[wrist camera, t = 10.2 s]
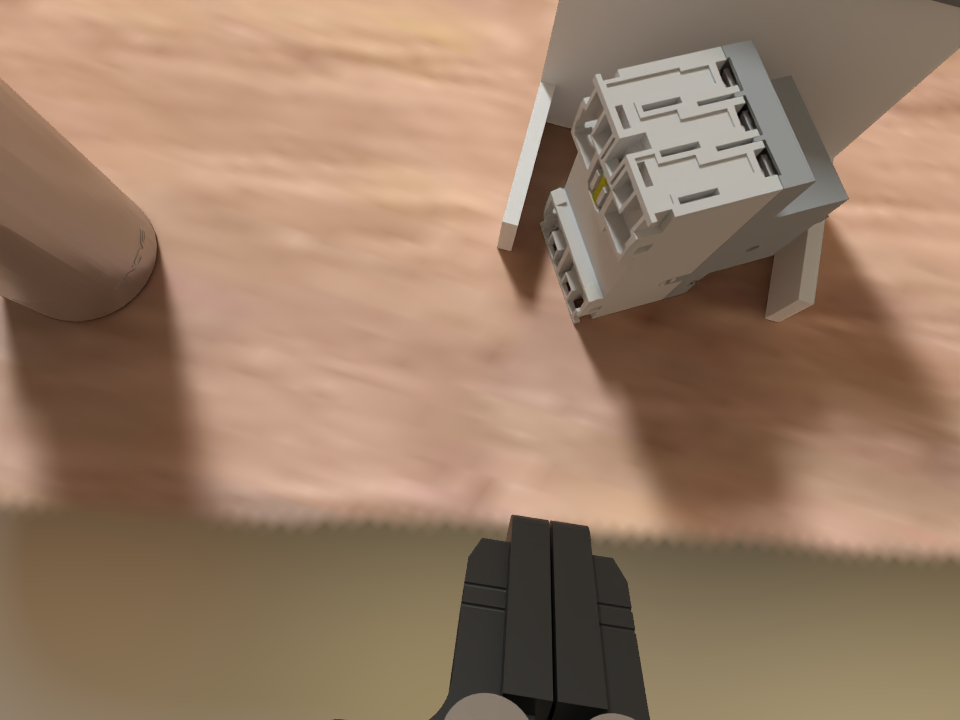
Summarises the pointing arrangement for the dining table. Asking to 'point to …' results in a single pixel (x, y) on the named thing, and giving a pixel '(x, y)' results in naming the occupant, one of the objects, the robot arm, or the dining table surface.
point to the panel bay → (783, 51)
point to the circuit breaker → (684, 178)
